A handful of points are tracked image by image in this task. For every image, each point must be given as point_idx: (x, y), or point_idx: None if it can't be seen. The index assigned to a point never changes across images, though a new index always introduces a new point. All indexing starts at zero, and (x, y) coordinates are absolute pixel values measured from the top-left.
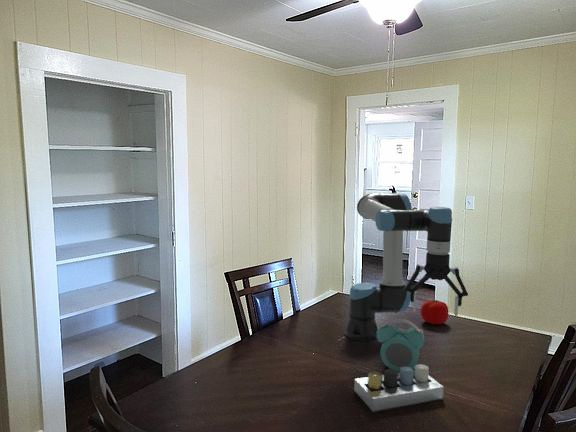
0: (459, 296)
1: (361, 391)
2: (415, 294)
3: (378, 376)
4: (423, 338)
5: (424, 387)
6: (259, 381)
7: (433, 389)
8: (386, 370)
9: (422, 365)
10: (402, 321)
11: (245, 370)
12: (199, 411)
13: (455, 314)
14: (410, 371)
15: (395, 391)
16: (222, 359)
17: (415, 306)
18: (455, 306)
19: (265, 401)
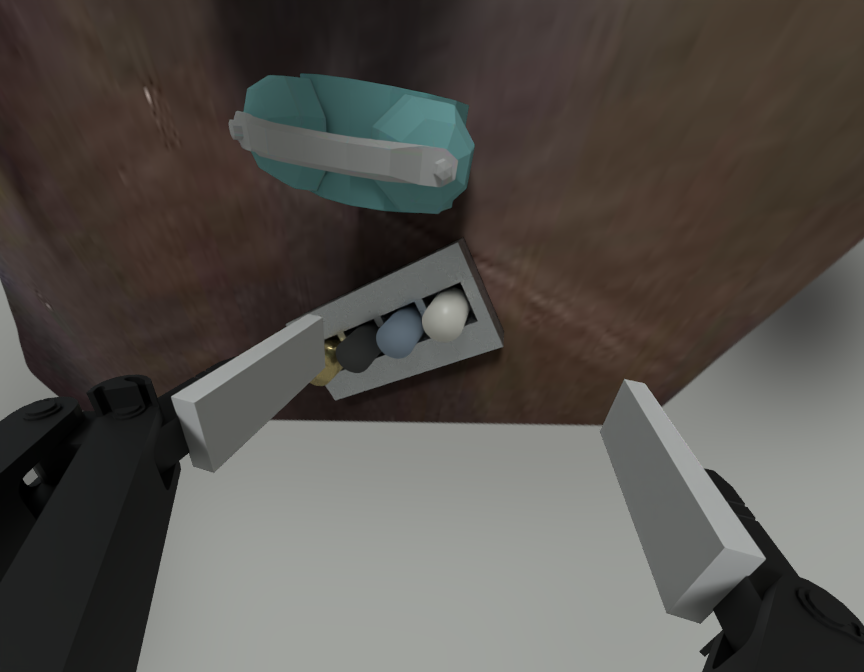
0: (727, 648)
1: None
2: (211, 466)
3: (324, 379)
4: (459, 190)
5: (449, 353)
6: (128, 291)
7: (472, 354)
8: (340, 348)
9: (445, 310)
10: (318, 167)
11: (78, 247)
12: None
13: (606, 442)
14: (404, 350)
15: (378, 372)
16: (6, 199)
17: (298, 390)
18: (626, 495)
19: (175, 357)
